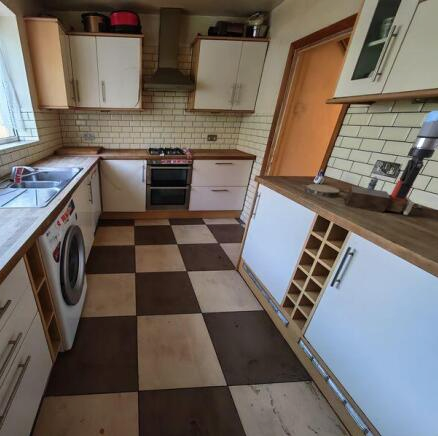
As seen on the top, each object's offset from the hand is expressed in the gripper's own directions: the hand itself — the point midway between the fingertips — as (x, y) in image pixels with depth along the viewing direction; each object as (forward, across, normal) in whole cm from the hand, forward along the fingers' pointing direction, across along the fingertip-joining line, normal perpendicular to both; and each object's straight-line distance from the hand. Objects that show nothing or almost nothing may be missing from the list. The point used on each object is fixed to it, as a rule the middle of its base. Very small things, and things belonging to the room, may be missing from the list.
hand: (398, 196), depth 113 cm
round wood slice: (+7, -10, -30) cm, 32 cm away
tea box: (+5, 0, 0) cm, 5 cm away
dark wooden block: (+7, 0, -11) cm, 13 cm away
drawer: (+7, 0, 0) cm, 7 cm away
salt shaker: (+8, -21, -8) cm, 24 cm away
